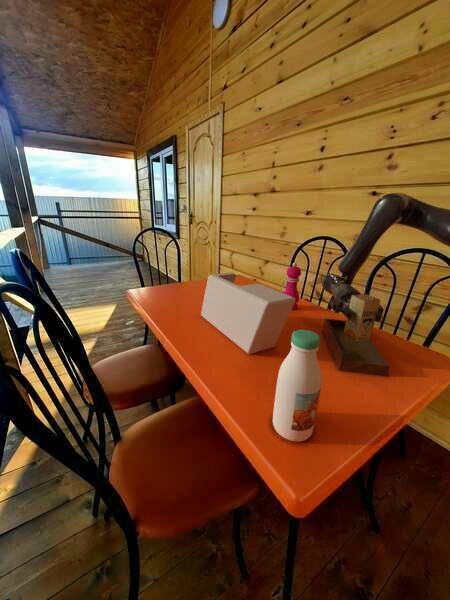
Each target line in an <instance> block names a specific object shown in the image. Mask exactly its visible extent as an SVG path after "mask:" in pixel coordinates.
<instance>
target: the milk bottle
mask: <svg viewBox="0 0 450 600" xmlns="http://www.w3.org/2000/svg"><path fill="white" fill-rule="evenodd" d="M320 342H321V337H320V335H319V334H317V333H316V332H314V331H312V330H308V329H297V330H294V331H293V332H292V334H291V342H290V346H291V348H290V351H289V353H288V354H287V356H286V357H285V358H284V360H283V361H282V363H281V365H280V367H279V370H278V376H277V379H276V380H277V381H276V388H275V393H274V394H275V395H274V402H273V403H274V404H273V413H272V425H273V427H274V430H275V431H276V433H277V434H279V435H280V437H282V438H283V439H285V440H288V441H291V442H304V441H306V440H308V439H309V438H310V437H311V436H312V435H313V431H314V428H315V423H316V417H317V412H318V406H319V401H320V395H321V390H322V381H323V380H322V370H321V366H320V365H319V362H318V357H317V351H319V346H320Z"/></svg>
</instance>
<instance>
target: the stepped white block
mask: <svg viewBox="0 0 450 600" xmlns="http://www.w3.org/2000/svg"><path fill="white" fill-rule="evenodd" d="M236 277H237V274H236V273H233V272H223V273H213V274H210V275H208V277H207V282H206V286H205V290H204V296H203V302H202V307H201V312H200V316H201V317H202V318H204V320H206V321H207V322H208V323H210V324H211V325H212V326H214V328H216V329H217V330H218V331H219V332H221V333H222V334H223V335H224V336H226V337H227V338H228V339H229V340H231V342H233V343H234V344H235V345H237V346H238V348H240V349H241V350H243V351H244V352H245V353H246V354H248V355H252V354H255V353H256V354H257V353H259V352H262V351H265V350H269V349H272V348H274V347H275V346H276V344H277V341H278V340H279V337H280V335H281V333H282V331H283V328H284V327H285V324H286V322H287V320H288V318H289V316H290V314H291V311H293V310H292V307H293V305H294V303H295V298H293V297H291V296H288V295H286V294H284V292H281V291H279V290H276V289H273V288H271V287H268V286H266V285H263V284H261V283H252V284H244V285H240V284H236V283H235V282H236Z"/></svg>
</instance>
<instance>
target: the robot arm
mask: <svg viewBox="0 0 450 600" xmlns="http://www.w3.org/2000/svg"><path fill="white" fill-rule="evenodd" d="M394 224H398V225H402V226H406V227H409V228H412V229H416V230H418V231H420V232H422V233H424V234H426V235H428V236H429V237H431V238H432V239H434V241H437V242H439V243H441V244H442V245H444V246H447V247H449V248H450V208H444V207H439V206H435V205H432V204H429V203H427V202H424V201H422V200H420V199H417V198H415V197H412V196H411V195H408V194H406V193H404V192H391V193H390V192H389V193H386V194H383V195H381V196H380V197H379V198H378V199H377V200H376V201H375V203H374V205H373V206H372V208H371V211H370V212H369V214H368V217H367V219H366V221H365V223H364V225H363V227H362V229H360V230H361V231H360V232H359V234H358V235H357V237H356V239H355V240H354V242H353V243H352V245H351V247H349V249H348V250H347V252H346V253H345V255H344V256H343V257H342V259H341V260H340V262H339V263H338V265H337V270H338V271H339V272H340V274H342V275H343V276H344V277H343V276H341V275H339V274H336V273H333V272H329V273H326V274H325V275H324V276H323V278H322V280H321V288H322V289H323V290H324V291H325V292H327V293H328V294H329V295H331V296H332V297H333V298H331V299H330V303H329V307H330V308H331V310H332V311H333V312H334V313H335V314H340V313H341V315H343V316H344V317H345V318H346V319H347V318H348V319H352V314H353V312H352V311H351V310H350V308H349V306H350V301H351V297H352V295H359V294H362V293H361V292H360V291H359V290H358V289H357V288H356V287H354V286H353V281H354V280H355V277H356V275H357V273H359V271H360V270H361V268H362V267H363V266H364V264H365V263H366V261H367V260H368V259H369V257H370V255H371V254H372V252H373V250H374V247H375V246H376V245H377V243H378V241H379V240H380V238H381V237H382V236H383V235H384V234H385V233H386V232H387V231H388V230H389V229H390V228H391V227H392V226H393V225H394ZM384 310H385V308H384V307H383V306H382V305H381V303H380V304H379V307H378V311H377V315H376V319H375V323H380V322H381V320H382V317H383V315H384Z"/></svg>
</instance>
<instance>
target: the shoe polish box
mask: <svg viewBox="0 0 450 600" xmlns="http://www.w3.org/2000/svg"><path fill="white" fill-rule="evenodd" d="M379 304H380V305H381V299H380V298H377V297H374V296H372V295H370V294H367V293H361V294H359V295H352V297H351V301H350V306H349V308H350V310H351V311H352V312H353V314H352V319H348V318H347V317H346V320H345V321H346V325H345V329H344V334H346V335H347V336H349V337H350V338H352V339H353V340H355V341H362V340H370V341H371V338H372V334H373V331H374V327H375V323H376V321H375V319H376V315H377V311H378V307H379Z"/></svg>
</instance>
